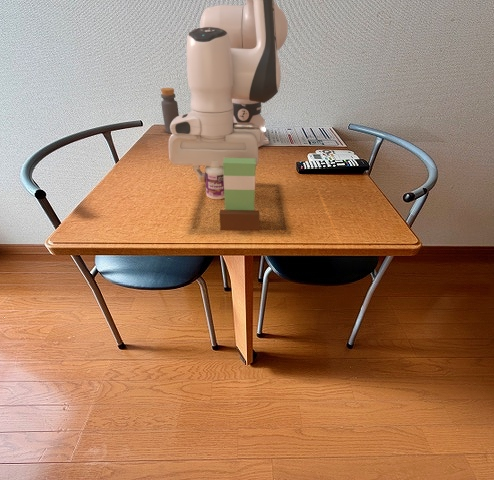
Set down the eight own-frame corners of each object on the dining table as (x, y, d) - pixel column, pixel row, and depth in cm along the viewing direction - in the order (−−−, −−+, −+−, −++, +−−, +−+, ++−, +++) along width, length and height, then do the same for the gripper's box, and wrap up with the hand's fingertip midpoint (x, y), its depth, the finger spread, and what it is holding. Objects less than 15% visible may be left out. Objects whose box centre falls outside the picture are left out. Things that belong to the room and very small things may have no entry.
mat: (204, 184, 78) (203, 168, 75) (278, 185, 78) (279, 169, 75) (191, 232, 60) (189, 213, 57) (286, 233, 61) (289, 214, 58)
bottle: (181, 132, 112) (175, 90, 103) (165, 133, 111) (159, 90, 101) (180, 128, 116) (175, 87, 107) (165, 129, 115) (158, 87, 106)
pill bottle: (208, 201, 69) (205, 163, 63) (205, 191, 73) (202, 154, 67) (230, 199, 70) (229, 161, 64) (226, 189, 74) (224, 152, 69)
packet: (226, 219, 63) (223, 157, 55) (253, 219, 63) (255, 158, 55) (225, 225, 61) (222, 162, 53) (253, 226, 61) (255, 163, 53)
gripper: (261, 119, 64) (258, 177, 72) (168, 117, 63) (177, 175, 72) (262, 127, 59) (259, 188, 67) (161, 125, 58) (171, 187, 67)
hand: (216, 181), depth 69 cm, fingers closed on pill bottle, 5 cm apart
